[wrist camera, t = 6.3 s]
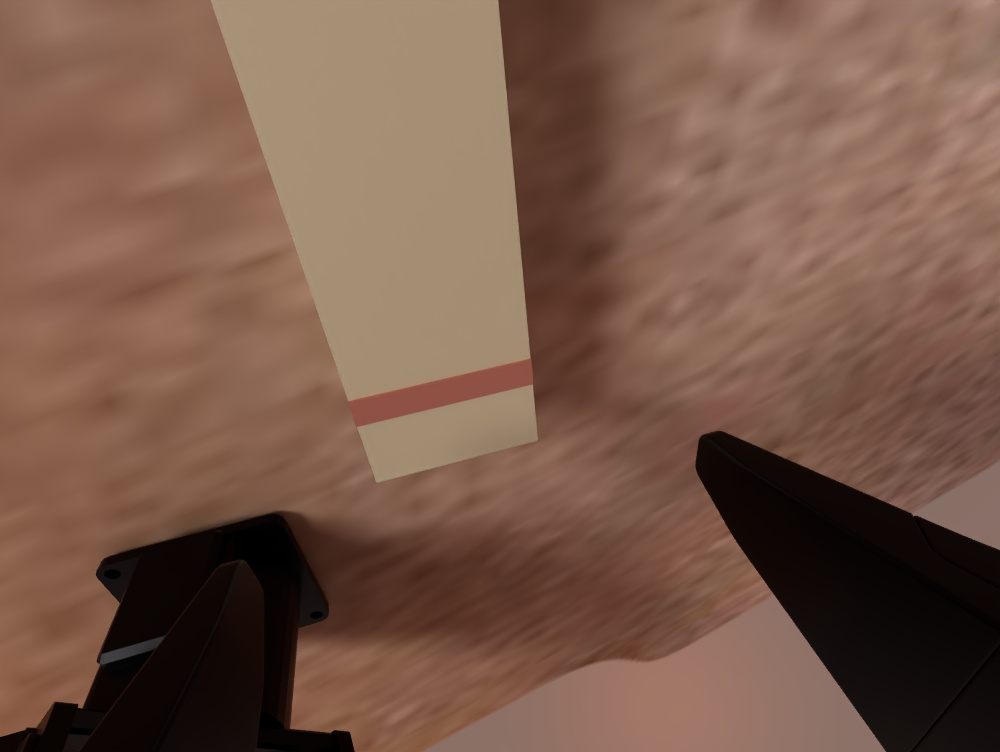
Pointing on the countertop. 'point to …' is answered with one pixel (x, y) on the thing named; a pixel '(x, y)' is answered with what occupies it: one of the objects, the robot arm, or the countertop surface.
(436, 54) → the cream striped pillar
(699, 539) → the countertop surface
